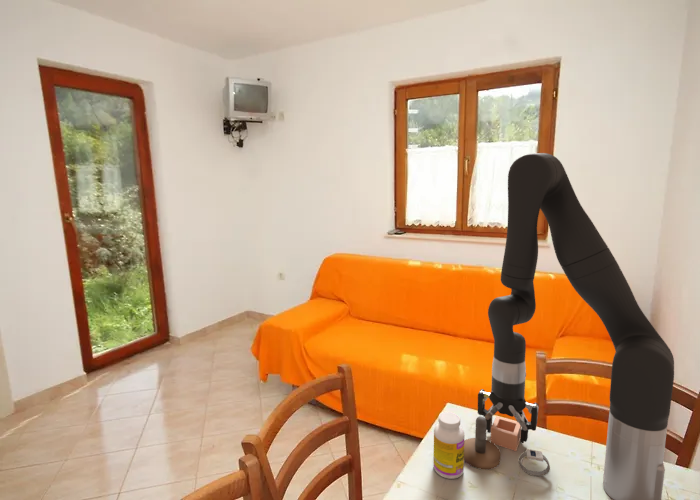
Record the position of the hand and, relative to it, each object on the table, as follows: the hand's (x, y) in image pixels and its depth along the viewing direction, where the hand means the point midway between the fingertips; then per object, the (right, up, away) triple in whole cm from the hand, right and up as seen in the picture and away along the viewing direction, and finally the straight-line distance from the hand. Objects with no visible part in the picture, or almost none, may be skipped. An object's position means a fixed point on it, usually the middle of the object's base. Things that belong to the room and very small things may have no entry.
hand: (505, 436), depth 97 cm
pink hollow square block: (0, -1, 0) cm, 1 cm away
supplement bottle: (-17, -3, -9) cm, 19 cm away
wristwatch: (+2, -3, -11) cm, 12 cm away
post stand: (-8, -2, -5) cm, 10 cm away
